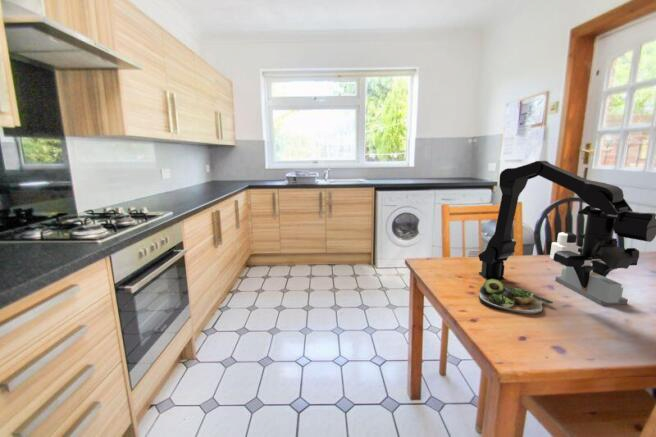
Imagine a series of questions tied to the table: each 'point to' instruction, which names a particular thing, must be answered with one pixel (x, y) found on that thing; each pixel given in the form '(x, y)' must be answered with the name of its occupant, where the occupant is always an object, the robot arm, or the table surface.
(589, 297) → the display stand
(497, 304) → the salad plate
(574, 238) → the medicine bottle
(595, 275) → the banded grey bar
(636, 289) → the table surface
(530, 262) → the table surface
